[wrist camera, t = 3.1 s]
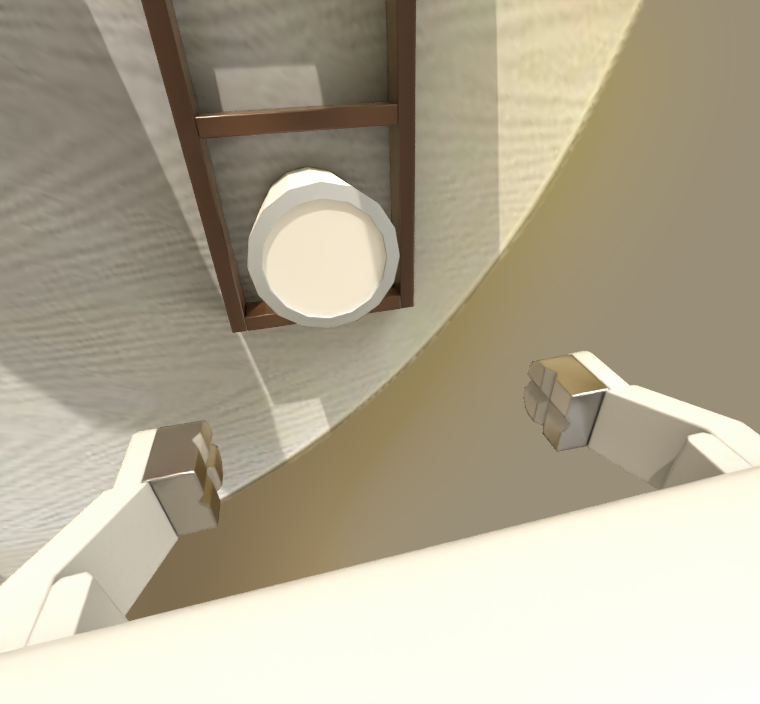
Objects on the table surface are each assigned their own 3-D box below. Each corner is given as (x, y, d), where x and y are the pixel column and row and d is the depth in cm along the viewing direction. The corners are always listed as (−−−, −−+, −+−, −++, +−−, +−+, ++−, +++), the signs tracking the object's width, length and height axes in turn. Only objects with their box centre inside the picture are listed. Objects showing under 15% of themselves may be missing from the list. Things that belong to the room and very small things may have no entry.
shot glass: (392, 213, 26) (429, 254, 20) (318, 294, 27) (333, 353, 22) (303, 124, 22) (318, 143, 16) (224, 224, 24) (212, 272, 18)
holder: (234, 317, 27) (232, 333, 25) (89, -227, 15) (68, -264, 13) (405, 293, 29) (414, 306, 27) (402, -208, 17) (417, -237, 15)
